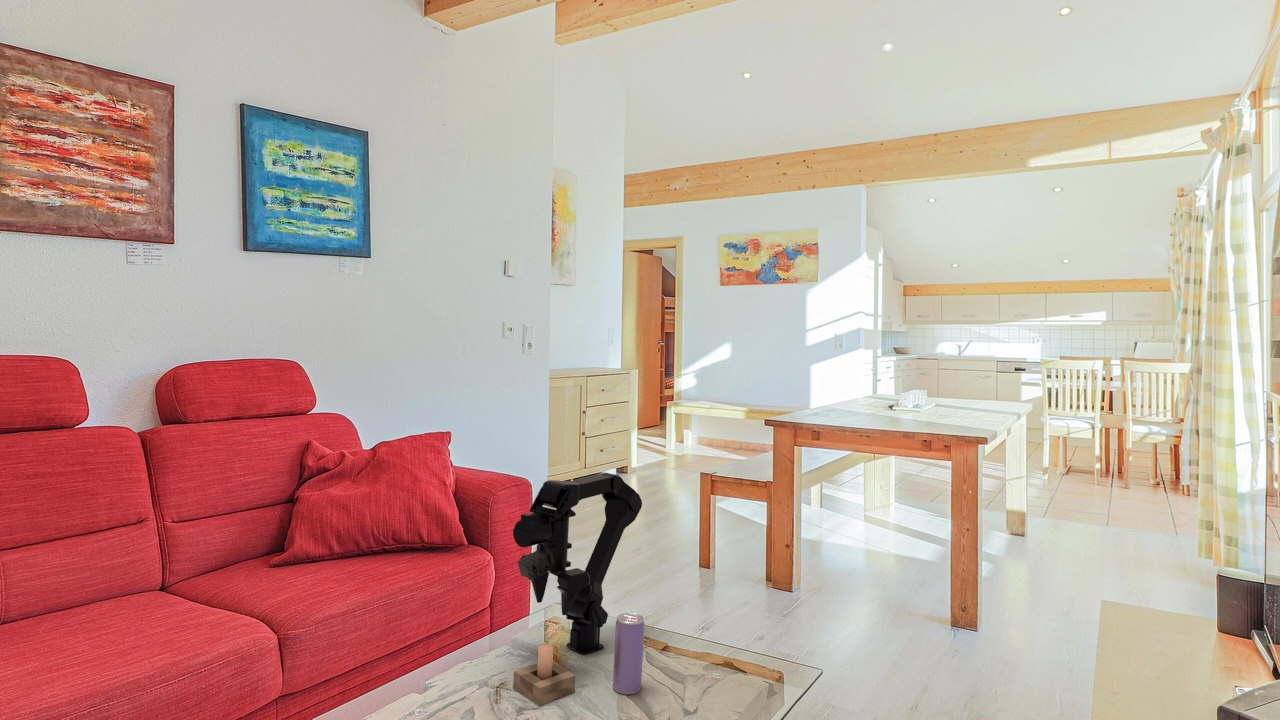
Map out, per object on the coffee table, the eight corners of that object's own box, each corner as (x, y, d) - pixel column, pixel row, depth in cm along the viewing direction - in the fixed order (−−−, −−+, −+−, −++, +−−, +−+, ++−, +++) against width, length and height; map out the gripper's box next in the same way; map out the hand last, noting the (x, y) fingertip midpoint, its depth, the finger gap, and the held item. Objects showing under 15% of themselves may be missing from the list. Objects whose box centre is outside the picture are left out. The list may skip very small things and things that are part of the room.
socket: (548, 676, 155) (549, 659, 155) (574, 692, 149) (575, 675, 149) (513, 688, 149) (513, 671, 149) (539, 705, 142) (539, 688, 142)
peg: (545, 685, 151) (547, 642, 151) (554, 690, 149) (556, 647, 148) (533, 689, 149) (535, 646, 149) (542, 695, 147) (544, 651, 146)
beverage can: (637, 697, 148) (641, 624, 147) (609, 693, 149) (613, 621, 149) (643, 684, 154) (647, 614, 153) (616, 680, 155) (619, 610, 154)
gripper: (500, 534, 161) (497, 603, 162) (551, 555, 148) (547, 630, 148) (541, 527, 169) (538, 593, 169) (593, 546, 155) (589, 618, 156)
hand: (551, 608), depth 160 cm, fingers open, 9 cm apart
